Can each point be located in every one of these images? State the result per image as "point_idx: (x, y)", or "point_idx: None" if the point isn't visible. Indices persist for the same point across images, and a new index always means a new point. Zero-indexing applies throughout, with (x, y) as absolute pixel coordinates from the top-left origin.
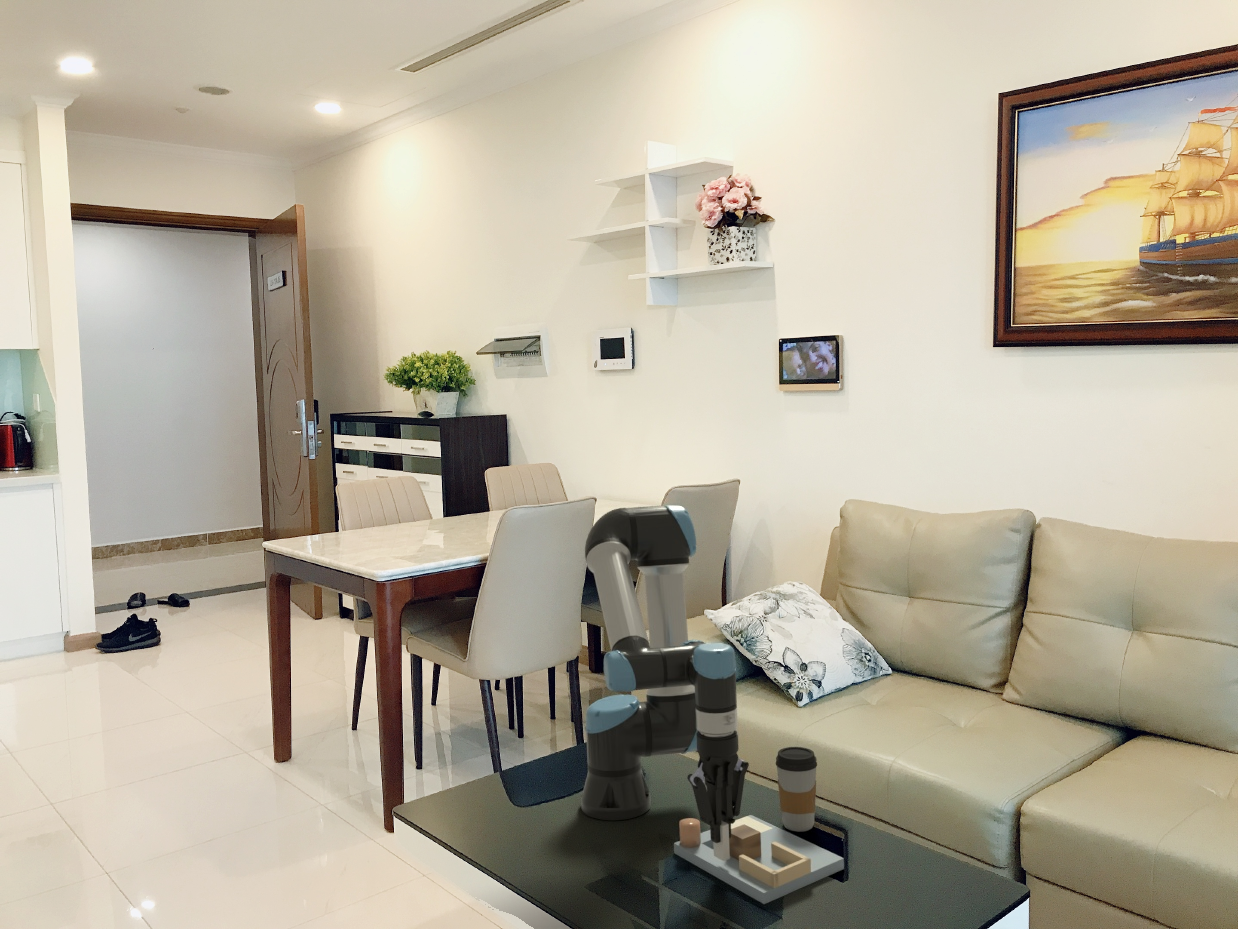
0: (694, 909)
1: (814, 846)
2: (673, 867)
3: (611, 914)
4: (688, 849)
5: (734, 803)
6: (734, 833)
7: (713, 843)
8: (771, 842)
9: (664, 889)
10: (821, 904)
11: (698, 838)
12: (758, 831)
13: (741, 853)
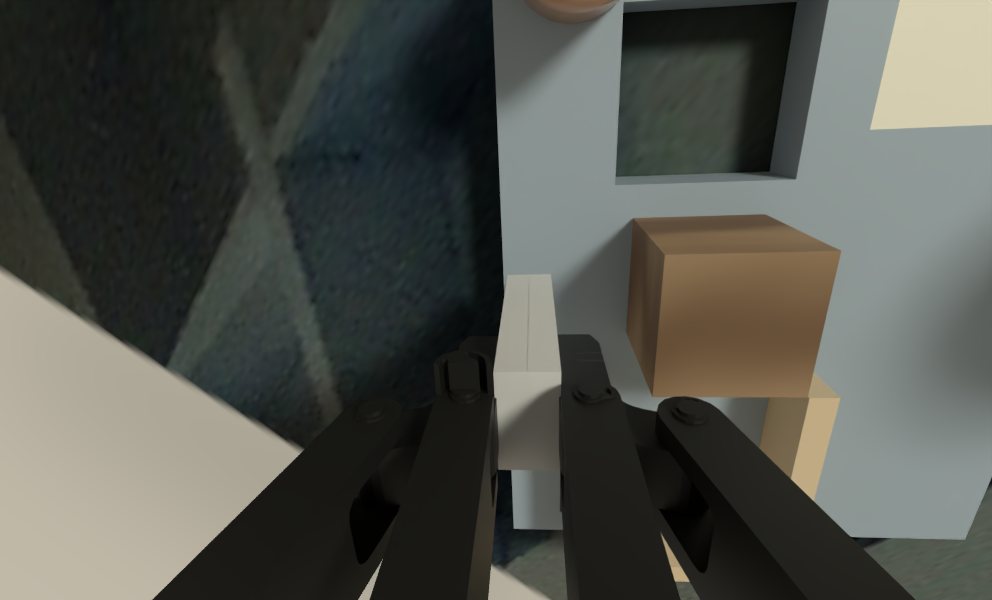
0: (300, 390)
1: None
2: (398, 54)
3: (6, 241)
4: (507, 25)
5: (694, 568)
6: (677, 314)
7: (503, 302)
8: (914, 257)
9: (264, 210)
10: None
11: (594, 12)
12: (808, 383)
13: (635, 342)
